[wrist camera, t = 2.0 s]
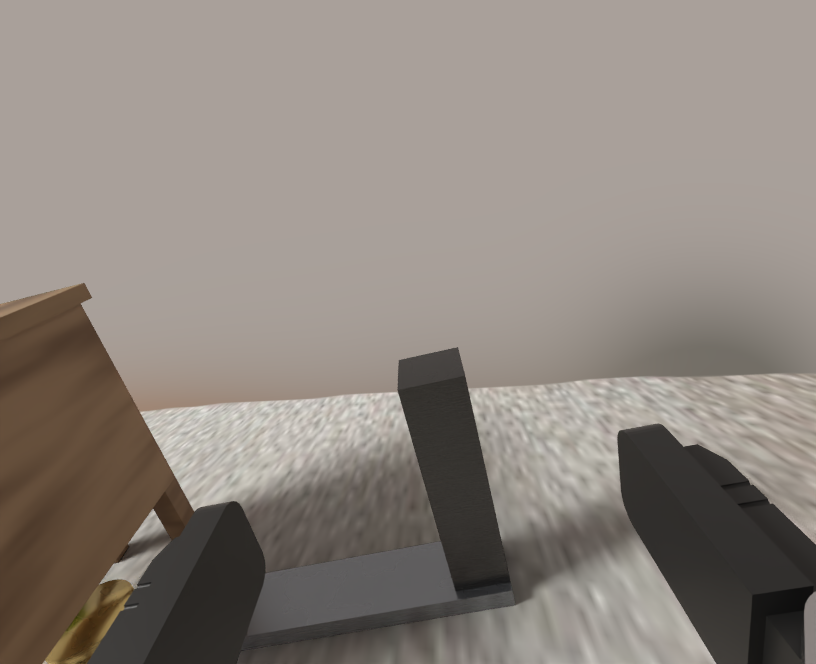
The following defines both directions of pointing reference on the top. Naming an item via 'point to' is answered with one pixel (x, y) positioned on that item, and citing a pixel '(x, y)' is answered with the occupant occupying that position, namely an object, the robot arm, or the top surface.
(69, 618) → the walnut cabinet
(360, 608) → the grey l-shaped bracket
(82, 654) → the brass puck
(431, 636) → the top surface
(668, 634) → the top surface
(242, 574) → the robot arm
